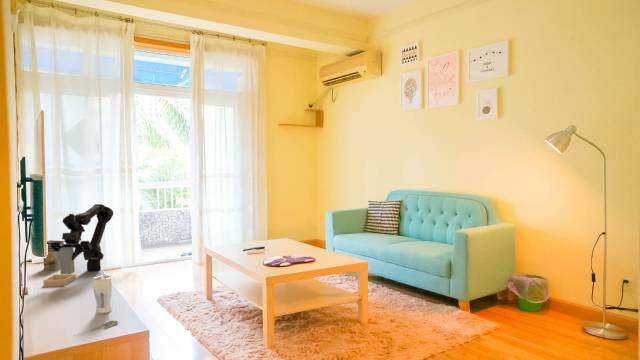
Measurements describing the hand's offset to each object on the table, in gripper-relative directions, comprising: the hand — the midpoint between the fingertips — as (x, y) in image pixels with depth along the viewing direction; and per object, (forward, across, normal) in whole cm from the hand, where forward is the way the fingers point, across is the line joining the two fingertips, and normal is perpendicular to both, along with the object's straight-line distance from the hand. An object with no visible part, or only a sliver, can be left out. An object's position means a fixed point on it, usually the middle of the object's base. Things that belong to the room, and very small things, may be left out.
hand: (66, 260), depth 223 cm
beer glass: (+38, +33, -20) cm, 54 cm away
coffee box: (-15, -23, +34) cm, 44 cm away
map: (+53, +36, -34) cm, 73 cm away
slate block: (+5, 0, +5) cm, 7 cm away
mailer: (+4, -6, +15) cm, 16 cm away
